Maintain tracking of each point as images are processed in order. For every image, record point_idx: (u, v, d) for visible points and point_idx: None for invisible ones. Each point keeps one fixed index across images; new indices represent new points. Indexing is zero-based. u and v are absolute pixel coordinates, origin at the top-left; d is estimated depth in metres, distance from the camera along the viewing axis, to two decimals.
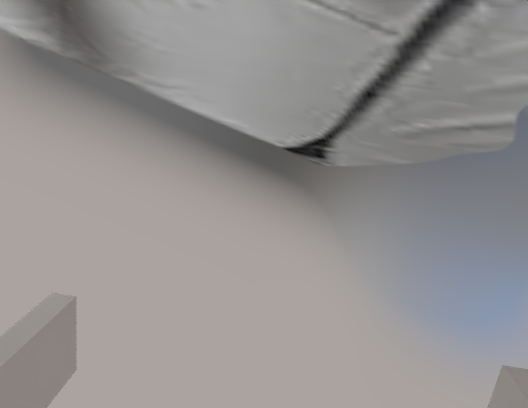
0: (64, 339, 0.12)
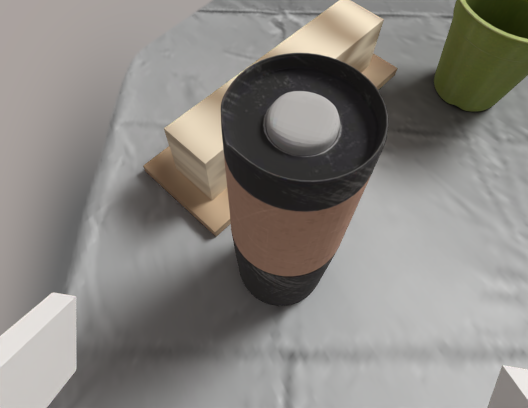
0: (64, 339, 0.12)
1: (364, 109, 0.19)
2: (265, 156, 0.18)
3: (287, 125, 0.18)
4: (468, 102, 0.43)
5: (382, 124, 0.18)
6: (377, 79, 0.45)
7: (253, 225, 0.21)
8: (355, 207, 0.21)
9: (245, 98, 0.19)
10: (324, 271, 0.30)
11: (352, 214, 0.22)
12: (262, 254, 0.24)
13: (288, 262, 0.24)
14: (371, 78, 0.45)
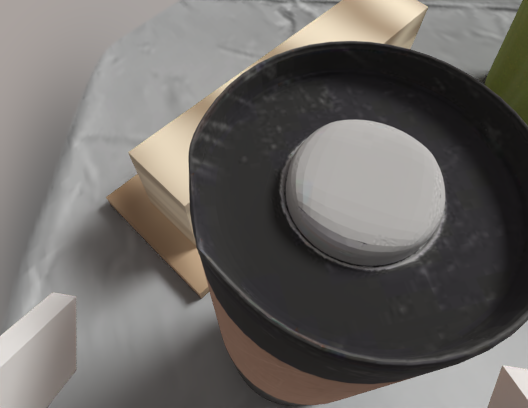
0: (64, 339, 0.12)
1: (487, 158, 0.09)
2: (285, 269, 0.08)
3: (334, 199, 0.08)
4: None
5: None
6: None
7: (255, 364, 0.11)
8: None
9: (242, 132, 0.09)
10: None
11: None
12: (268, 387, 0.14)
13: (313, 401, 0.14)
14: None
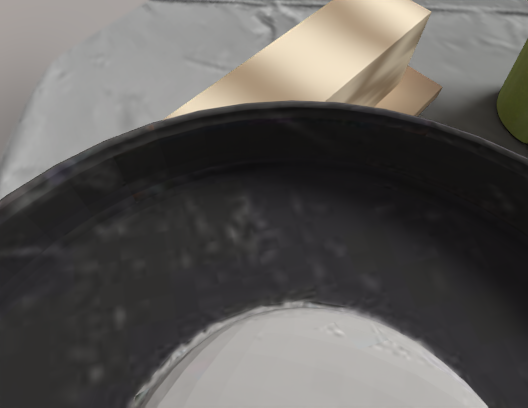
0: None
1: None
2: None
3: None
4: None
5: None
6: (413, 103, 0.30)
7: None
8: None
9: (25, 331, 0.04)
10: None
11: None
12: None
13: None
14: (404, 102, 0.30)
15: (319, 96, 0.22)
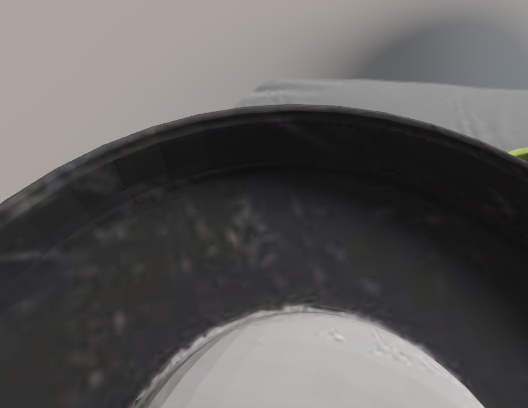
0: None
1: None
2: None
3: None
4: None
5: None
6: None
7: None
8: None
9: (25, 335, 0.04)
10: None
11: None
12: None
13: None
14: None
15: None
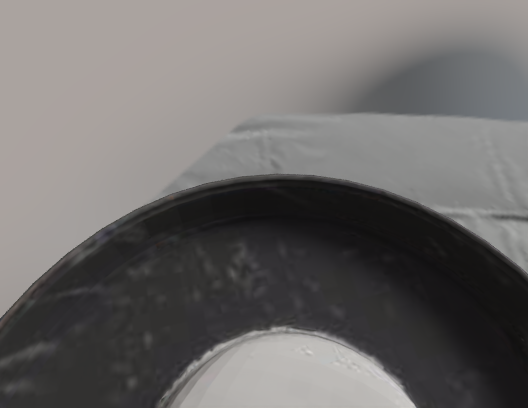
0: None
1: (527, 398, 0.05)
2: None
3: None
4: None
5: None
6: None
7: None
8: None
9: (78, 350, 0.05)
10: None
11: None
12: None
13: None
14: None
15: None
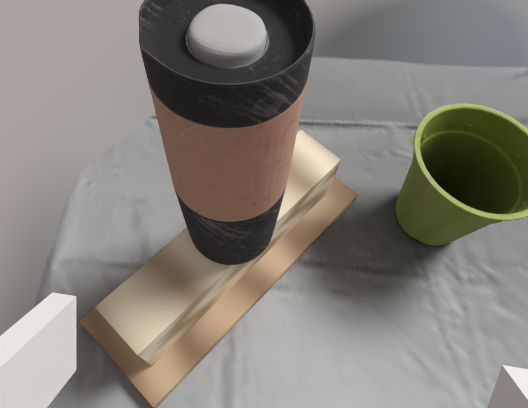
0: (64, 339, 0.12)
1: (294, 26, 0.18)
2: (184, 66, 0.17)
3: (208, 34, 0.17)
4: (429, 240, 0.41)
5: (309, 37, 0.17)
6: (336, 208, 0.43)
7: (182, 154, 0.20)
8: (289, 137, 0.20)
9: (169, 12, 0.18)
10: (271, 224, 0.29)
11: (288, 146, 0.21)
12: (197, 193, 0.23)
13: (225, 201, 0.23)
14: (330, 207, 0.43)
15: None
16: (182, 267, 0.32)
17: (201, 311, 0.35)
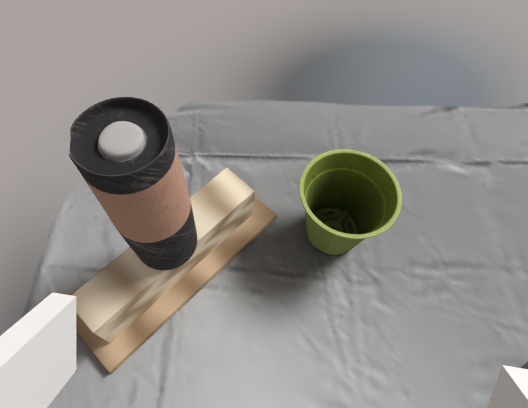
0: (64, 339, 0.12)
1: (163, 132, 0.31)
2: (94, 161, 0.30)
3: (108, 142, 0.30)
4: (326, 251, 0.53)
5: (166, 142, 0.30)
6: (258, 226, 0.55)
7: (103, 205, 0.33)
8: (169, 193, 0.33)
9: (90, 125, 0.31)
10: (184, 242, 0.42)
11: (171, 198, 0.34)
12: (120, 226, 0.36)
13: (137, 231, 0.36)
14: (254, 225, 0.55)
15: None
16: (129, 272, 0.46)
17: (146, 304, 0.48)
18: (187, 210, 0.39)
